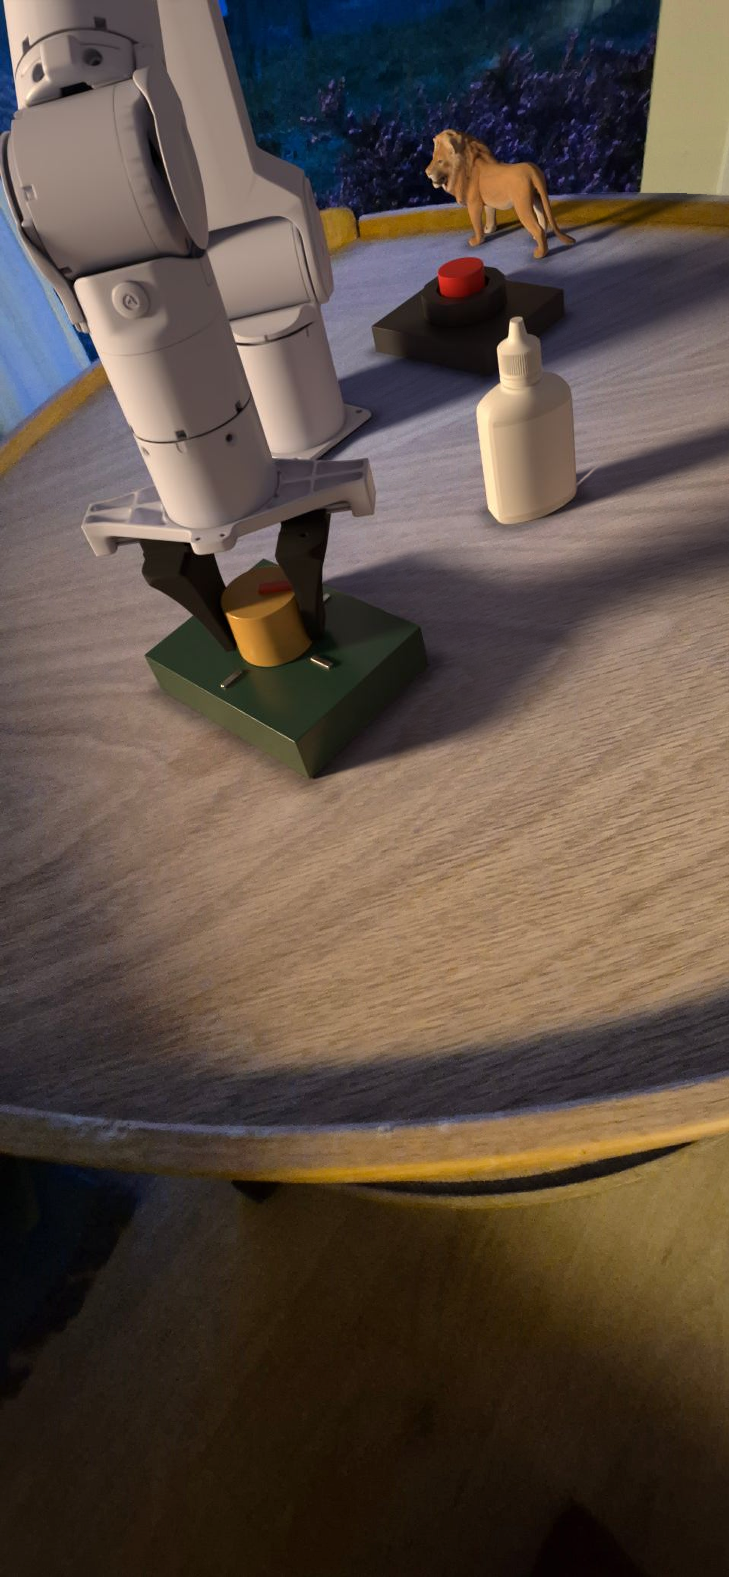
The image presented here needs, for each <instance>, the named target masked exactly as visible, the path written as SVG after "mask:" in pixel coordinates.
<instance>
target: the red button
mask: <svg viewBox="0 0 729 1577" xmlns="http://www.w3.org/2000/svg"><path fill="white" fill-rule="evenodd" d="M484 266H485V265H484V262H483V259H481V258H479V257H475V256H464V257H459V258H454V259H452V260H449V261H447V262H445V263H444V264H442V265H441V266H440V267H439V268H438V270H437V276H438V279H439V286H440V293H441V296H442V297H448V298H458V297H466V296H468V295H471V294H474V293H477V292H479V291H481V290H482V289H483V288H485V286H486V283H485V273H484Z"/></svg>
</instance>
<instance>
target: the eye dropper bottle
mask: <svg viewBox="0 0 729 1577" xmlns="http://www.w3.org/2000/svg"><path fill="white" fill-rule="evenodd" d="M541 346H542V345H541V340H540V338H539V337H538V338H537V337H536V336H534V335H531V334H527V332H526V329H525V325H524V322H523V318H522V317H514V318H512V319H511V320H510V326H509V335H508V338H506V339H504V340H503V341H502V342H501V343H500V344H499V345H498V347H497V354H498V363H499V370H498V371H499V373H498V374H499V381H500V382H499V383H497V384H496V385H495V386H494V387H493V388H492V389H490V390H489V391H488V392H487V393H486V394H485V395H484V396H483V397H481V398H482V399H481V400H480V401H479V402H478V404H477V407H476V423H477V432H478V440H479V448H480V457H481V464H482V471H483V480H484V488H485V495H486V503H487V508H488V511H489V512H490V514H492V516H493V517H494V518H495V519H496V520H497V522H499V523H500V524H501V525H502V524H503V525H513V524H520V523H524V522H529V521H532V520H537V519H539V518H542V517H545V516H547V515H549V514H551V513H554V512H556V511H557V510H559V509H561V508H562V507H564V506H565V505H566V504H568V503H570V502H571V501H572V500H573V499H574V497H575V496H576V494H577V490H578V489H577V488H578V486H577V485H578V484H577V463H576V444H575V443H576V442H575V424H574V423H575V422H574V406H573V394H572V390H571V386H570V385H569V383H568V382H567V381H566V380H565V378H563V377H562V376H561V375H559V374H557V373H555V372H553V371H552V372H551V371H543V363H542V362H543V360H542V347H541Z"/></svg>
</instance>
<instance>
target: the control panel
mask: <svg viewBox="0 0 729 1577" xmlns="http://www.w3.org/2000/svg"><path fill="white" fill-rule="evenodd" d="M265 566H279V564H278V563H277V562H276V563H275V562H273V561H271V560H268V559H266V558H262V559H261V560H259V561H258V562H257V563H256V564H254V565H253V566H252V567H251V568H249V569H248V570H247V571H250V570H252V569H256V568H259V567H265ZM279 567H280V566H279ZM322 585H323V601H324V608H325V614H326V621H325V630H324V638H323V639H322V640H315V641H313V642H312V644H311V645H310V647H309V648H308V649H307V650H306V651H305V652H304V653H303V654H302V655H301V656H299V657H298V658H296V659H294V660H292V661H290V662H288V663H285V664H282V665H278V666H273V667H261V666H256V665H253V664H251V663H249V662H247V661H246V660H245V659H244V658H243V657H242V655H241V653H240V651H239V648H238V646H237V648H236V651H229V652H225V651H224V649H223V648H222V647H221V646H220V644H219V643H218V642H217V641H216V639H215V638H214V637H213V636H212V635H211V634H210V632H209V631H208V630H207V629H206V628H205V627H204V626H203V625H202V624H201V623H200V622H199V621H198V620H197V619H196V618H195V617H194V616H193V615H191V616H190V617H189V618H188V619H186V621H184V622H183V623H182V624H180V625H179V626H178V627H177V628H175V629H174V630H173V631H172V632H170V633H169V634H167V636H166V637H164V638H163V639H162V640H161V641H159V642H158V643H157V644H156V645H155V646H153V647H152V648H151V649H150V650H148V651H147V652H146V653H145V654H144V655H143V657H144V658H145V660H146V663H147V664H148V666H149V668H150V670H151V672H152V673H153V676H154V677H155V679H156V682H157V683H158V685H159V687H160V689H161V691H162V692H164V693H165V694H166V695H168V696H170V697H172V698H173V699H175V700H177V701H178V702H180V703H182V704H183V705H185V706H187V707H188V708H190V709H192V710H194V711H195V712H197V713H198V714H200V715H201V716H203V717H205V718H207V719H208V720H210V721H212V722H213V723H215V724H216V725H218V726H220V727H222V728H223V729H225V730H227V731H228V732H230V733H231V734H233V735H235V736H237V738H240V739H241V740H243V741H244V742H247V743H248V744H250V745H252V746H253V747H255V748H257V749H258V750H260V751H262V752H263V753H265V754H266V755H269V756H270V757H272V758H273V759H275V760H276V761H278V762H279V763H282V764H283V765H285V766H286V767H288V768H290V769H291V770H293V771H295V772H296V773H298V774H300V775H302V776H303V777H305V778H307V779H308V780H312V779H313V778H314V777H315V776H316V775H317V774H318V773H319V772H320V771H321V770H322V769H323V768H324V767H325V766H326V765H327V764H328V763H329V762H330V761H331V760H333V758H335V756H337V755H338V754H339V753H340V752H341V751H342V750H343V749H344V748H345V747H346V746H347V745H348V744H349V743H351V741H352V740H353V739H354V738H356V736H357V735H358V734H360V733H361V732H362V731H363V730H364V729H365V728H366V727H367V726H368V725H369V724H370V723H371V722H372V721H374V719H376V717H377V716H379V714H380V713H381V712H383V711H384V710H385V709H386V707H388V706H389V705H390V704H391V703H392V702H393V701H394V700H395V699H396V698H397V697H398V696H399V695H400V694H401V693H402V692H403V691H404V690H406V688H407V687H409V686H410V685H411V684H412V683H413V682H414V681H415V680H416V679H417V678H418V677H419V676H420V675H421V674H422V673H423V672H424V671H425V670H427V668H428V667H429V666H430V661H429V657H428V653H427V652H428V651H427V647H426V644H425V638H424V634H423V633H424V632H423V629H422V626H421V625H420V624H417V623H416V622H413V621H410V620H409V619H406V618H404V617H401V616H399V615H397V614H394V613H393V612H390V611H387V610H386V609H383V608H380V607H379V606H376V605H373V604H371V603H369V602H366V601H364V600H362V599H359V598H357V597H355V596H353V595H351V594H347V593H345V592H343V591H341V590H339V589H336V588H335V587H331V586H329V585H326V584H324V583H322Z"/></svg>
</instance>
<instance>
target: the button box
mask: <svg viewBox="0 0 729 1577" xmlns="http://www.w3.org/2000/svg"><path fill="white" fill-rule="evenodd" d="M484 273H485V283H486V286H485V288H483V289H482V290H481V291H479V292H477V293H474V294H471V295H468V296H466V297H458V298H448V297H442V296H441V293H440V286H439V279H438V275H437V276H435V277H434V278H432V279H431V280H430V281H428V282H427V283H425V284H424V286H423V288H422V289H420V290H419V291H418V292H416V293H415V294H414V295H412V296H411V297H409V298H408V299H407V300H405V301H404V302H403V303H401V304H400V305H398V306H397V307H396V308H394V309H393V310H391V311H390V312H389V313H388V314H386V315H384V316H383V317H382V318H380V319H379V320H378V321H377V322H375V323H374V324H372V325H371V333H372V337H373V343H374V347H375V351H376V353H379V354H380V353H381V354H384V355H389V356H394V357H398V358H402V359H406V360H410V361H411V360H412V361H416V362H421V363H425V364H428V365H429V364H430V365H434V366H437V367H441V368H442V367H443V368H446V369H451V370H456V371H460V372H464V373H469V374H473V375H478V376H482V377H486V378H487V377H488V378H490V377H492V376H493V375H494V374H496V373H497V372H498V371H499V363H498V354H497V347H498V345H499V344H500V343H501V342H502V341H503V340H504V339H506V338H508V335H509V326H510V320H511V319H512V318H514V317H522V318H523V322H524V325H525V329H526V332H527V334H531V335H534V336H536V337H537V338H538V339H539V338H540V337H541V336H543V335H544V334H545V333H546V332H547V331H548V330H550V329H551V328H552V327H553V326H554V325H556V324H557V323H558V322H559V321H561V320H562V319H563V318H564V317H565V316H566V312H565V311H566V310H565V291H564V288H562V287H561V288H560V287H554V286H547V285H541V284H534V283H529V282H528V283H527V282H522V281H514V280H509V279H506V275H505V274H504V273H503V272H502V271H500V270H499V269H498V268H497V267H494V266H486V265H484Z"/></svg>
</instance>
